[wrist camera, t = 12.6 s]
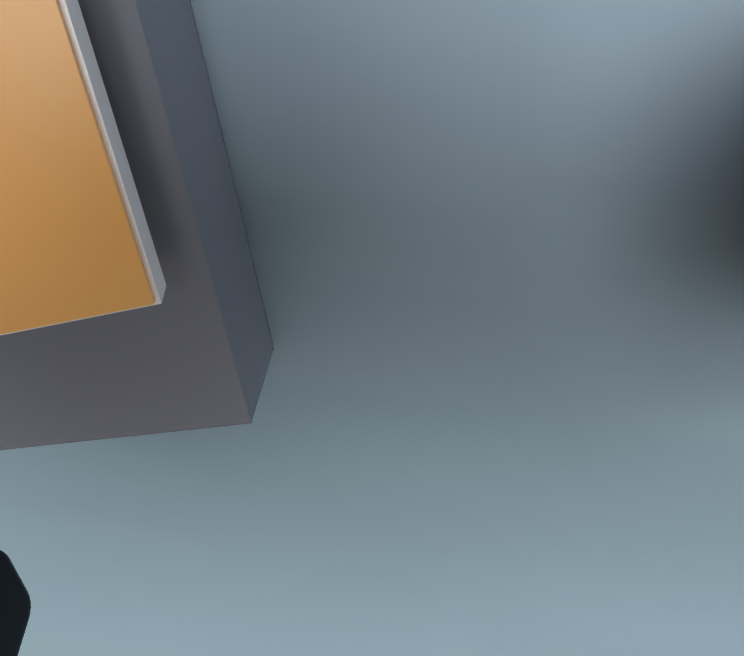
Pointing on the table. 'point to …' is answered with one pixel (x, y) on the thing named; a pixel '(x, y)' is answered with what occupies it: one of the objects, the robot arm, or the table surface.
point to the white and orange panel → (64, 179)
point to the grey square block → (176, 257)
